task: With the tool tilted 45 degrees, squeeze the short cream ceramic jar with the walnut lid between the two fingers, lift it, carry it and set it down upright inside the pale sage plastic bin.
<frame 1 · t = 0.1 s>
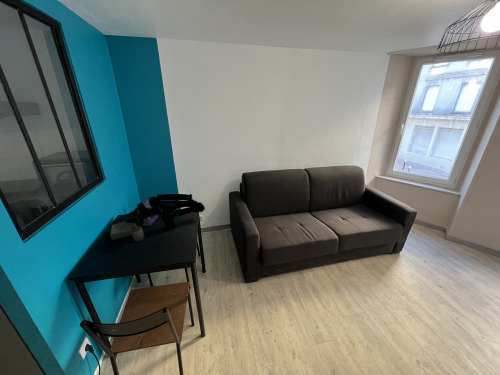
hand: (125, 218, 126), 17 cm above the table, tool horizontal, fingers open, 9 cm apart
bin: (125, 231, 140), on the table
candy box: (151, 221, 153), on the table
jar: (139, 238, 132), on the table
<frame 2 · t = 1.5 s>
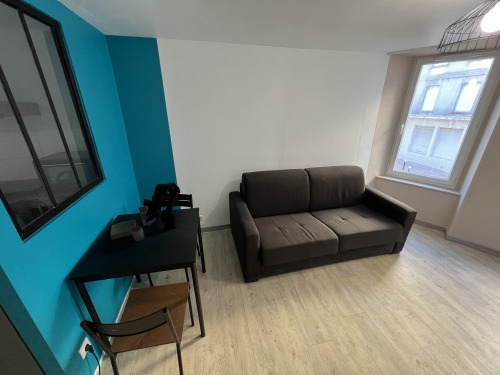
hand: (145, 219, 130), 13 cm above the table, tool tilted 45°, fingers open, 9 cm apart
nothing on the table moved.
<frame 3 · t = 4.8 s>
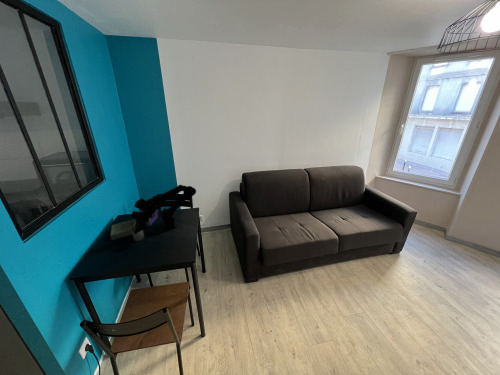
hand: (134, 230, 129), 7 cm above the table, tool tilted 45°, fingers closed on jar, 6 cm apart
jar: (139, 238, 132), on the table, touching gripper
everything else where it was.
when the fingers open (9 cm above the table, at t = 9.0 s): jar drops 1 cm, resting on bin.
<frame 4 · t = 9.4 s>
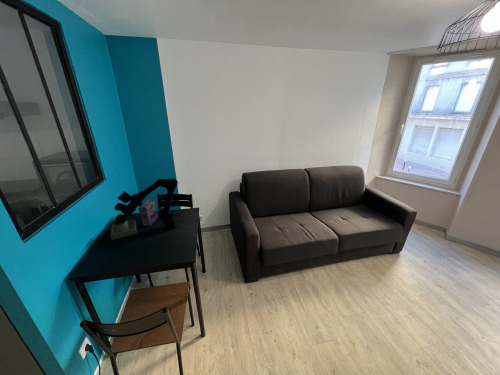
hand: (119, 221, 137), 9 cm above the table, tool tilted 45°, fingers open, 9 cm apart
jar: (124, 230, 140), point 1 cm above the table, touching bin
everything else where it was.
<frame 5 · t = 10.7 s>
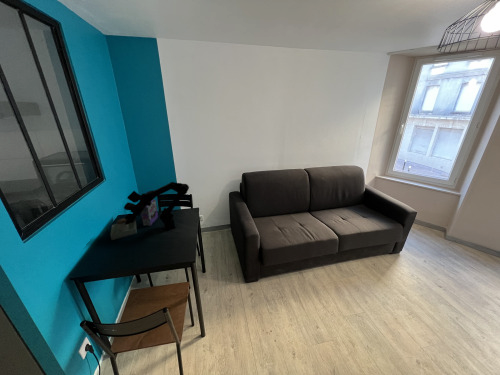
hand: (128, 220, 137), 9 cm above the table, tool tilted 45°, fingers open, 9 cm apart
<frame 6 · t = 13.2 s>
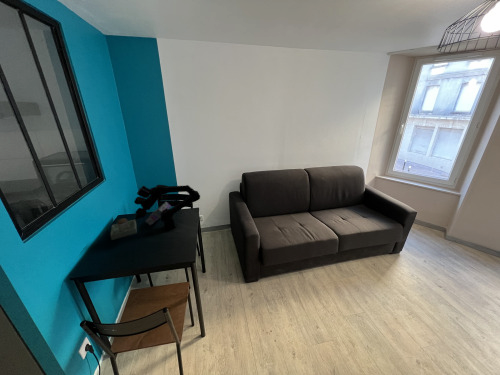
hand: (138, 215, 134), 14 cm above the table, tool tilted 45°, fingers open, 9 cm apart
candy box: (151, 219, 152), point 2 cm above the table, touching arm
everything else where it was.
at the end: jar inside the target area on the bin (0.1 cm from its centre), point 0.9 cm above the bin's base; jar tilted 2°; the gripper is holding nothing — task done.
